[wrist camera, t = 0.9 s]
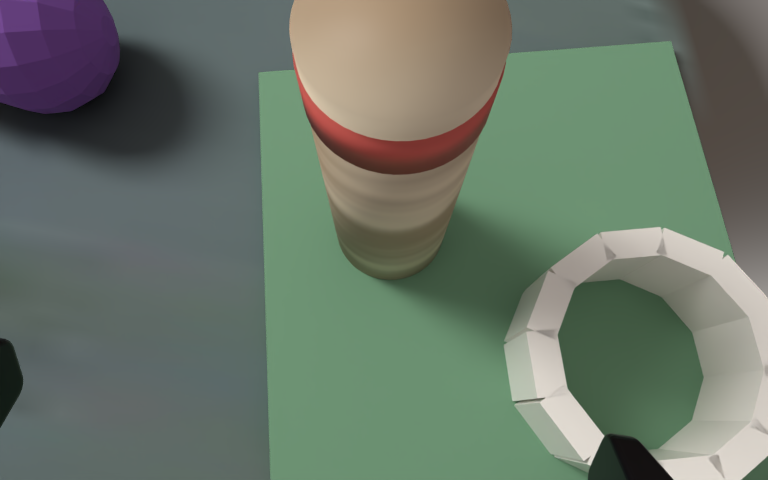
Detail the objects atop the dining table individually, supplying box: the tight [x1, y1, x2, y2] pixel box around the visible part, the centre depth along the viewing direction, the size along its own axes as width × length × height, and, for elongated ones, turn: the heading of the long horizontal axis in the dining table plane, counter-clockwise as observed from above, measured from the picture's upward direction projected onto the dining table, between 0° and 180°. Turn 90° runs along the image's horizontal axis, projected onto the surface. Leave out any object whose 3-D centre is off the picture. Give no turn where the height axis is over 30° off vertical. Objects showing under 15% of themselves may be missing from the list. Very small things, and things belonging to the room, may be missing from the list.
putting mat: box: [259, 41, 768, 480], centre depth 22 cm, size 22×19×1 cm
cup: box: [504, 227, 768, 480], centre depth 20 cm, size 8×8×4 cm
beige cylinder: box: [289, 0, 512, 280], centre depth 17 cm, size 4×4×12 cm
